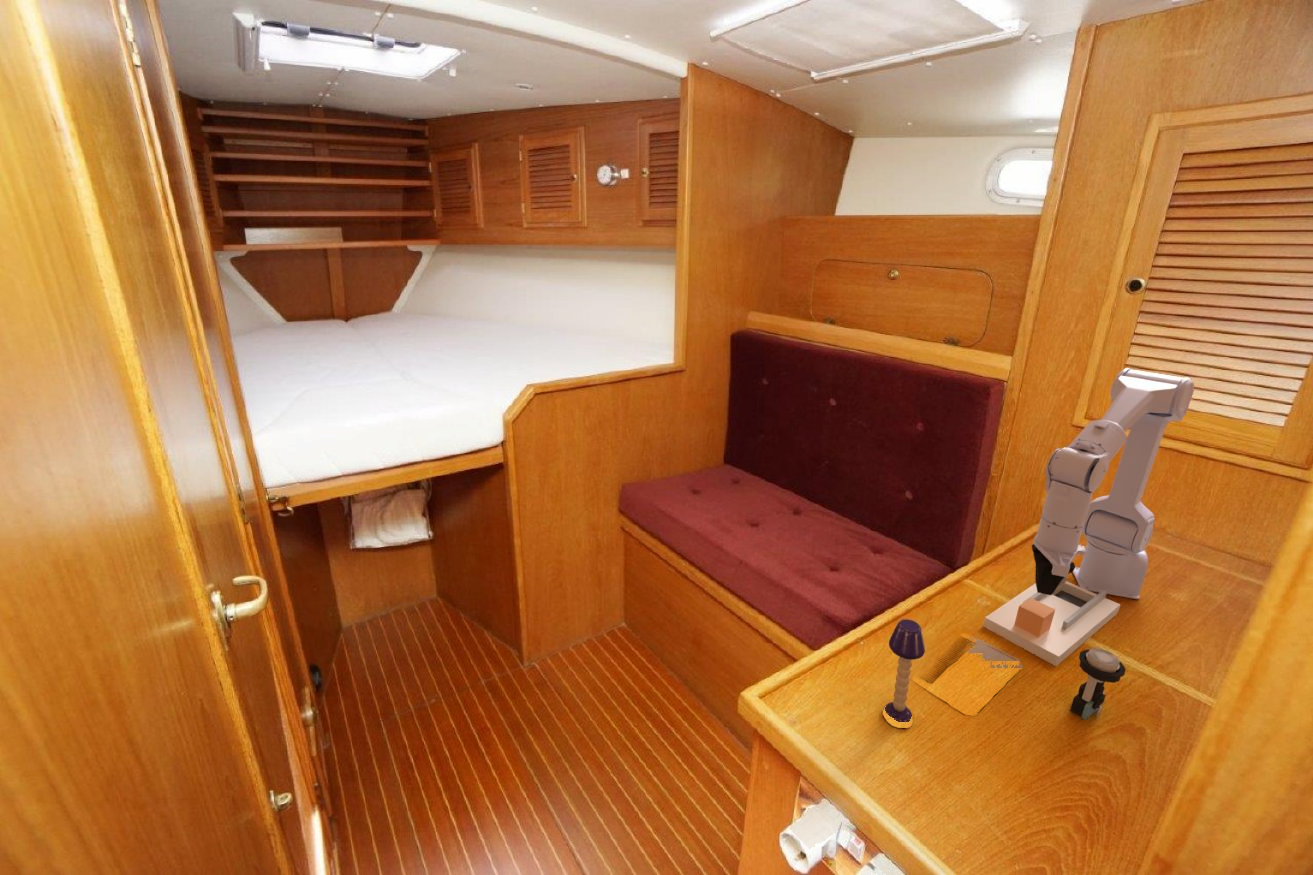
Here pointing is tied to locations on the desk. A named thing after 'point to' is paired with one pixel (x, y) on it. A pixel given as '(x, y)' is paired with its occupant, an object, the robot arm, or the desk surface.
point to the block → (1034, 617)
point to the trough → (1055, 620)
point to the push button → (1095, 680)
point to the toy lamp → (904, 665)
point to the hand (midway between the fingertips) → (1043, 590)
